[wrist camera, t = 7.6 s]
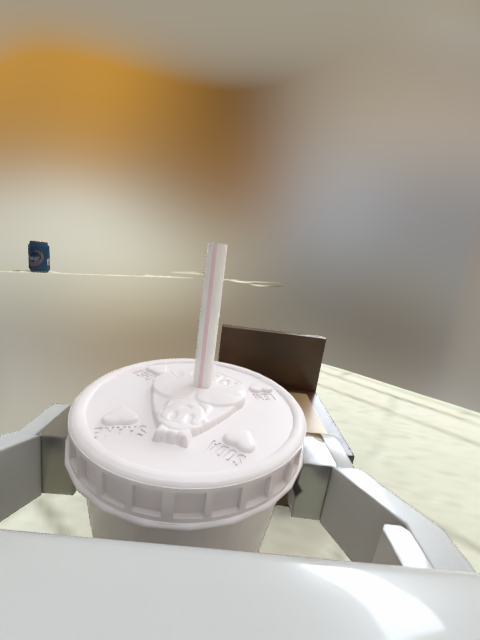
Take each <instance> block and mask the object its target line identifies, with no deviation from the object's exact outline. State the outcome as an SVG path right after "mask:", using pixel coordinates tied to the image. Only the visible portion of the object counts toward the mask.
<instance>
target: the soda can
mask: <svg viewBox="0 0 480 640" xmlns="http://www.w3.org/2000/svg"><path fill="white" fill-rule="evenodd" d="M28 254H29V268H30V270H31V271H33V272H48V271H49V270H50V256H49V255H50V254H49V246H48V243H45V242H38V241H37V242H36V241H30V243H29V245H28Z"/></svg>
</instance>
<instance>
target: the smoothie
mask: <svg viewBox="0 0 480 640" xmlns="http://www.w3.org/2000/svg"><path fill="white" fill-rule="evenodd" d="M226 254H227V245H225V244H220V243H211V242H208V243H207V253H206V263H205V272H204V282H203V291H202V301H201V311H200V321H199V330H198V341H197V350H196V359H162V360H154V361H147V362H141V363H137V364H133V365H129V366H126V367H123V368H120V369H117V370H115V371H112V372H110V373H108V374H106V375H104V376H103V377H101V378H99V379H97V380H95V381H94V382H93V383H91V384H90V385H88V386H87V387H86V388H85V389H84V390H83V391H82V392H81V393H80V394H79V395H78V396H77V397H76V399H75V400H74V402H73V404H72V406H71V408H70V411H69V414H68V437H67V439H66V441H65V467H66V469H67V471H68V473H69V475H70V477H71V479H72V482H73V484H74V486H75V488H76V490H77V491H78V492H79V493H81V494H82V495H83V496H84V497H85V498H87V505H88V513H89V519H90V525H91V528H92V535H93V538H101V539H112V540H123V541H135V542H146V543H157V544H168V545H179V546H190V547H201V548H212V549H223V550H234V551H244V552H255V553H258V552H259V550H260V547H261V544H262V541H263V538H264V535H265V532H266V530H267V527H268V525H269V523H270V520H271V517H272V513H273V510H274V507H275V504H276V502H277V501H278V500H279V499H281V498H282V497H283V496H284V495H285V494H286V493H287V492H288V491H289V490H290V489H291V488H292V487H293V485H294V483H295V480H296V478H297V476H298V474H299V472H300V470H301V468H302V465H303V444H304V440H305V435H306V419H305V416H304V413H303V411H302V409H301V407H300V406H299V404H298V403H297V401H296V400H295V399H294V397H293V396H292V395H291V394H290V393H288V392H287V391H286V390H285V389H284V388H283V387H282V386H280V385H279V384H277V383H276V382H274V381H273V380H271V379H269V378H267V377H265V376H263V375H261V374H259V373H256V372H254V371H251V370H249V369H246V368H243V367H239V366H236V365H232V364H228V363H223V362H218V361H214V355H215V347H216V339H217V330H218V322H219V313H220V305H221V295H222V288H223V280H224V271H225V262H226Z"/></svg>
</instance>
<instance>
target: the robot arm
mask: <svg viewBox="0 0 480 640" xmlns="http://www.w3.org/2000/svg"><path fill="white" fill-rule="evenodd" d="M71 406H72V405H66V404H52V405H51V406H50V407H49V408H47V409H46V410H45V411H43V412H42V413H41V414H40V415H38V416H37V417H36V418H34V419H33V420H32V421H30V422H29V423H28V424H26V425H25V426H24V427H23V428H21V429H20V430H19V431H17V432H16V433H15V432H9V433H6V434H3V435H0V522H1V521H2V520H4V519H5V518H7V517H8V516H10V515H11V514H13V513H14V512H16V511H17V510H19V509H20V508H22V507H23V506H25V505H26V504H28V503H30V502H31V501H33V500H34V499H36V498H37V497H39V496H40V495H41V494H42V493H51V494H65V495H74V493H75V492H76V488H75V486H74V484H73V482H72V479H71V477H70V475H69V473H68V471H67V469H66V467H65V441H66V439H67V437H68V414H69V411H70V408H71ZM287 499H288V504H289V508H290V513H291V517H299V518H307V519H314V520H320V523H321V524H322V525H323V527H324V528H325V529H326V530H327V531H328V533H329V534H330V535H331V536H332V538H333V539H334V540H335V541H336V543H337V544H338V545H339V546H340V548H341V549H342V550H343V551H344V553H345V554H346V555H347V556H348V558H349V559H350V560H351V561H352V562H351V561H341V560H330V559H319V558H308V557H298V556H287V555H276V554H266V553H255V552H244V551H234V550H223V549H212V548H201V547H190V546H179V545H168V544H157V543H146V542H135V541H123V540H112V539H101V538H90V537H79V536H68V535H57V534H47V533H36V532H25V531H14V530H3V529H0V640H480V573H477V572H476V571H475V570H474V569H473V567H472V566H471V565H470V563H469V562H468V561H467V559H466V558H465V557H464V556H463V554H462V553H461V552H460V550H459V549H458V548H457V547H456V545H455V544H454V543H453V541H452V540H451V539H450V538H449V536H448V535H447V534H446V532H445V531H444V530H443V529H442V528H441V527H440V526H438V525H437V524H435V523H434V522H433V521H431V520H430V519H428V518H427V517H426V516H424V515H423V514H421V513H420V512H419V511H417V510H416V509H414V508H413V507H412V506H410V505H409V504H407V503H406V502H405V501H403V500H402V499H400V498H399V497H398V496H396V495H395V494H393V493H392V492H391V491H389V490H388V489H386V488H385V487H384V486H382V485H381V484H379V483H378V482H377V481H375V480H374V479H372V478H371V477H370V476H368V475H367V474H365V473H364V472H363V471H361V470H360V469H355V468H354V466H353V464H352V463H351V461H350V459H349V458H348V456H347V454H346V453H345V451H344V449H343V447H342V446H341V444H340V442H339V441H338V439H337V437H336V436H335V435H333V434H321V433H308V432H306V435H305V440H304V444H303V465H302V468H301V470H300V472H299V474H298V476H297V478H296V480H295V483H294V485H293V487H292V488H291V489H290V490H289V491H288V494H287Z"/></svg>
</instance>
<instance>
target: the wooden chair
mask: <svg viewBox="0 0 480 640" xmlns="http://www.w3.org/2000/svg"><path fill="white" fill-rule="evenodd" d="M325 342H326V338H324V337H323V336H315V335H307V334H299V333H290V332H282V331H274V330H265V329H256V328H248V327H241V326H232V325H224V324H223V326H222V333H221V342H220V352H219V359H218V362H223V363H228V364H232V365H236V366H239V367H243V368H246V369H249V370H251V371H254V372H256V373H259V374H261V375H263V376H265V377H267V378H269V379H271V380H273V381H274V382H276V383H277V384H279V385H280V386H282V387H283V388H284V389H285V390H286V391H287V392H288V393H290V394H291V395H292V396H293V397H294V399H295V400H296V401H297V403H298V404H299V406H300V407H301V409H302V411H303V413H304V416H305V419H306V432H308V433H321V434H333V435H335V436H336V437H337V439H338V441H339V442H340V444H341V446H342V447H343V449H344V451H345V453H346V454H347V456H348V458H349V459H350V461H351V463H352V464H353V460H354V455H353V453H352V451H351V450H350V448H349V447H348V445H347V443H346V442H345V440H344V438H343V437H342V435H341V433H340V432H339V430H338V428H337V427H336V425H335V424H334V422H333V420H332V419H331V417H330V415H329V414H328V412H327V410H326V409H325V407H324V405H323V404H322V402H321V401H320V399H319V397H318V396H317V394H316V387H317V382H318V377H319V372H320V367H321V362H322V357H323V352H324V347H325ZM287 494H288V492H287V493H286V494H285V495H284V496H283V497H282V498H281V499H279V500H278V501H277V502H276V504H280V505H289V504H288V499H287Z"/></svg>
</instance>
